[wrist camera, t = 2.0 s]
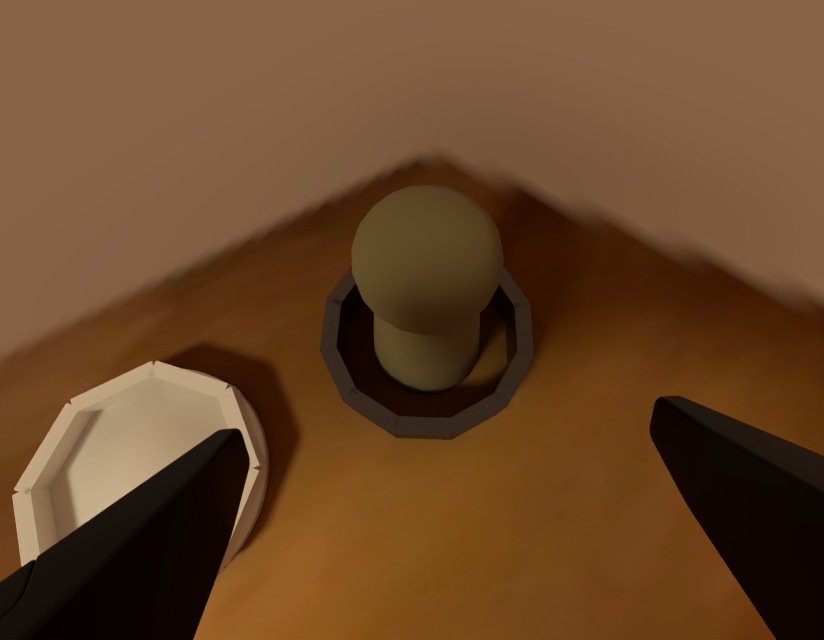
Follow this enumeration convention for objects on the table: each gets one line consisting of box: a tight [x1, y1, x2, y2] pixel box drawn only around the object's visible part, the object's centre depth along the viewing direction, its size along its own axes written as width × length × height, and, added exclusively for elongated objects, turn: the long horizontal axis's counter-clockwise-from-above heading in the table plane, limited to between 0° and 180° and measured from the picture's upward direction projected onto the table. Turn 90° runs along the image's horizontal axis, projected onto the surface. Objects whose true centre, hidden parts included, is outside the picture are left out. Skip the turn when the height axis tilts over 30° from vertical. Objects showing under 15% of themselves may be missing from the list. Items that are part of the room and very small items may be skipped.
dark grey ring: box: [320, 265, 534, 440], centre depth 21 cm, size 11×11×2 cm
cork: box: [352, 184, 504, 395], centre depth 17 cm, size 6×6×11 cm
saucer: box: [12, 361, 269, 575], centre depth 19 cm, size 11×11×2 cm
